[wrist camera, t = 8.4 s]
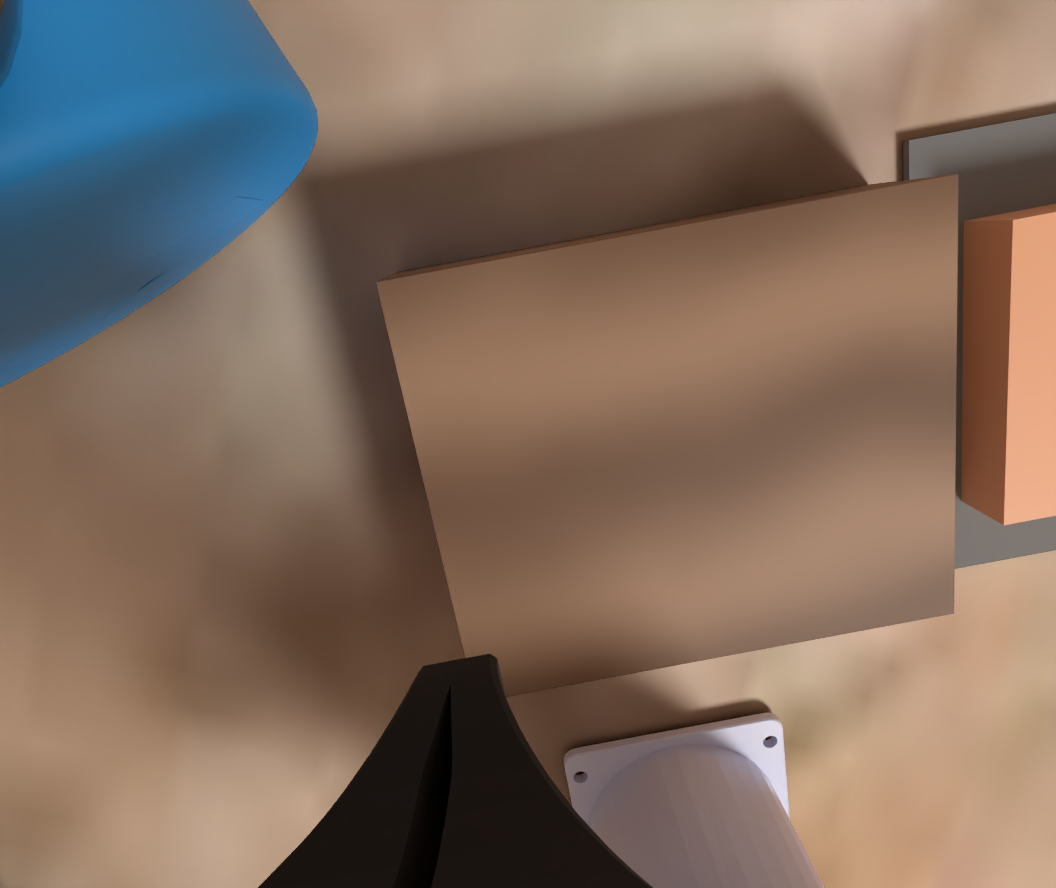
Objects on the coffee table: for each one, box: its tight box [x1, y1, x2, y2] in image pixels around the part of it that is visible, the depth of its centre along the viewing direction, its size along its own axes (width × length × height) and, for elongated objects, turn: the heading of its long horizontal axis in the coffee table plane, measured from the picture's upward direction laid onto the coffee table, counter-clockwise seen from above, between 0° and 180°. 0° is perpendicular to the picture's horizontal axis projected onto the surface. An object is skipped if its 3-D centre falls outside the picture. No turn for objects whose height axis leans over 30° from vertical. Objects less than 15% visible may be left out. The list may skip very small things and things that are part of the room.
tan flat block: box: [376, 174, 958, 697], centre depth 20 cm, size 12×14×4 cm
